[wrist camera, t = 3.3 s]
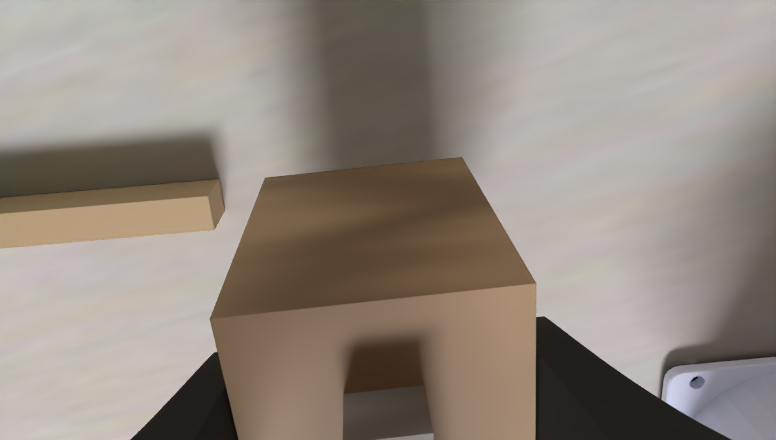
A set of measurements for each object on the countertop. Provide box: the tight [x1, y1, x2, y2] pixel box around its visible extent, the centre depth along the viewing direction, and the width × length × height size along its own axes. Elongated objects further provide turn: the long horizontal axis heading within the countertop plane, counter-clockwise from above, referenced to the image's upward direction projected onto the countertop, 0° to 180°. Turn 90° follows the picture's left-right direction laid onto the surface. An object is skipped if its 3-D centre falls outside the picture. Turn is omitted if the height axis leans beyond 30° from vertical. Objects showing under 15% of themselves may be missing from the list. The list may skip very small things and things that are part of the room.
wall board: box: [0, 179, 225, 249], centre depth 14 cm, size 20×11×5 cm, turn 94°
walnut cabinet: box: [210, 157, 536, 440], centre depth 12 cm, size 4×6×7 cm
